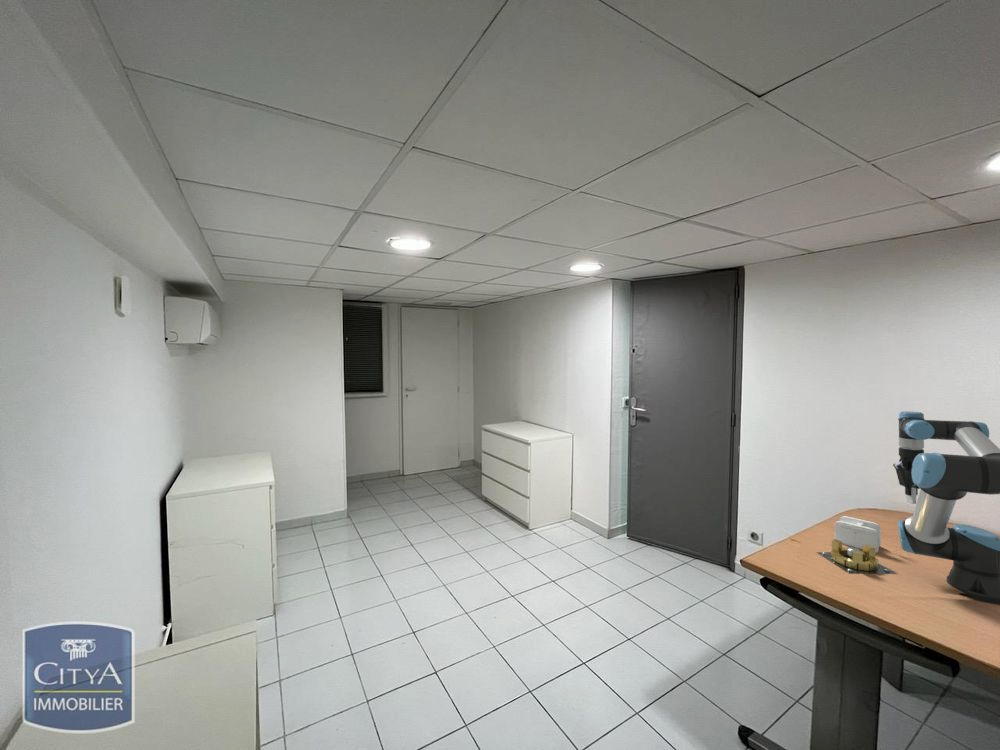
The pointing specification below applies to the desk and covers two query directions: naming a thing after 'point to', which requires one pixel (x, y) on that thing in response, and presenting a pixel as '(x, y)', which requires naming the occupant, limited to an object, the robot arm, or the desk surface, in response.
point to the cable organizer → (858, 532)
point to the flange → (849, 570)
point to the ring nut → (855, 557)
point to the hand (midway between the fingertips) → (911, 502)
